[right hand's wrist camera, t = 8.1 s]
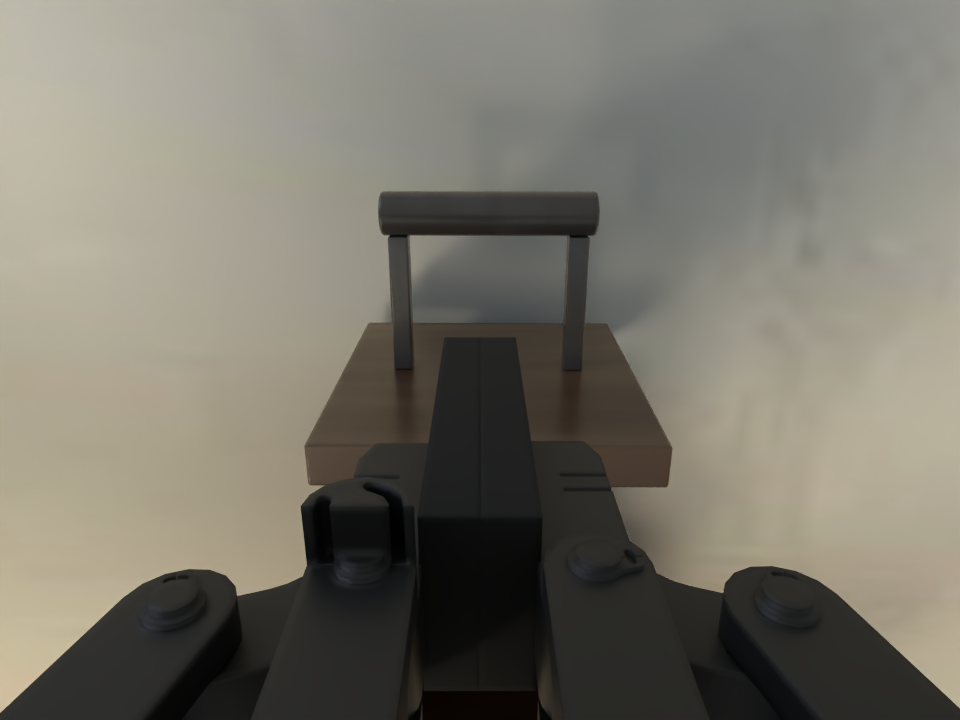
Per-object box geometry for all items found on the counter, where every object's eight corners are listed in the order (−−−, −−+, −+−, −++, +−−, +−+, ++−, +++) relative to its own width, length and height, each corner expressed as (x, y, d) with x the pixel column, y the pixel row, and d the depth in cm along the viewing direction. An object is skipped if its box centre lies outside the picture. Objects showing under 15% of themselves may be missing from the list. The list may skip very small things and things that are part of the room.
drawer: (358, 174, 24) (280, 222, 15) (618, 175, 24) (699, 223, 15) (387, 636, 32) (346, 858, 23) (585, 638, 32) (625, 861, 23)
